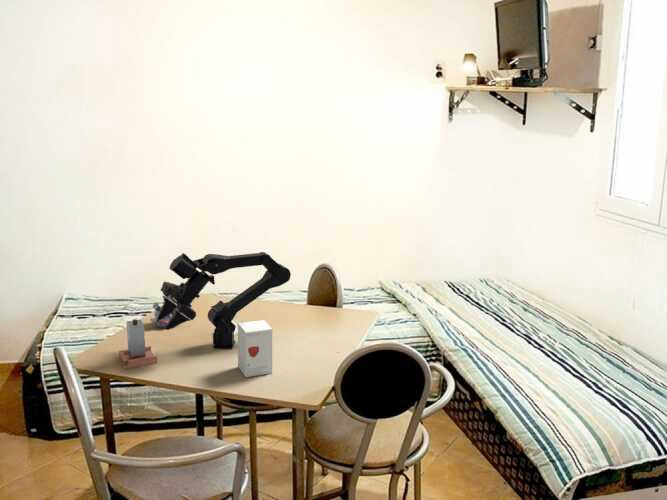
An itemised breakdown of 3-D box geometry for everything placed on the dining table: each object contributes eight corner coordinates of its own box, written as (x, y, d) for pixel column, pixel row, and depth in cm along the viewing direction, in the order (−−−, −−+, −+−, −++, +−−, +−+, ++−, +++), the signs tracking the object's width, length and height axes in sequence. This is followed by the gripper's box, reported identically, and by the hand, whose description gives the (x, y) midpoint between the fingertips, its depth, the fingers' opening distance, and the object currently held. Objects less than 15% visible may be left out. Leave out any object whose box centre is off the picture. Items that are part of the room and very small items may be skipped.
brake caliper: (175, 326, 227) (156, 298, 227) (155, 340, 232) (137, 313, 232) (191, 316, 238) (174, 290, 238) (172, 329, 242) (155, 304, 242)
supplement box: (245, 378, 192) (244, 332, 188) (237, 366, 200) (236, 322, 196) (273, 373, 195) (273, 328, 192) (264, 362, 203) (264, 319, 200)
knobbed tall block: (142, 353, 206) (140, 316, 203) (145, 359, 201) (143, 321, 198) (128, 356, 204) (126, 318, 201) (131, 361, 199) (129, 323, 196)
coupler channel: (150, 352, 209) (150, 345, 209) (157, 363, 201) (157, 356, 200) (119, 357, 205) (119, 350, 204) (125, 369, 196) (125, 361, 196)
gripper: (166, 265, 210) (136, 301, 208) (184, 281, 194) (151, 321, 192) (190, 283, 216) (161, 319, 214) (209, 300, 201) (178, 339, 198)
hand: (162, 324), depth 204 cm, fingers open, 9 cm apart
